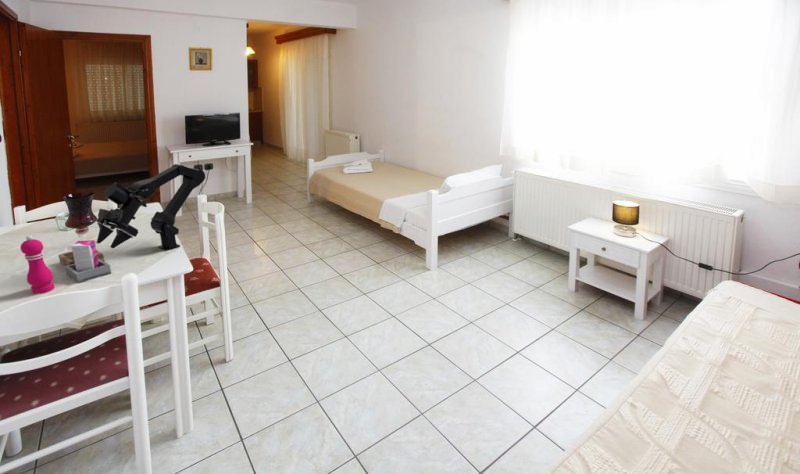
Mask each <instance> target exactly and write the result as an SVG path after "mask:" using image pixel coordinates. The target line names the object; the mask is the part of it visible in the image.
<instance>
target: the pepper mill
mask: <svg viewBox="0 0 800 474" xmlns="http://www.w3.org/2000/svg"><path fill="white" fill-rule="evenodd" d="M43 250H44V244H43V242H42V241H40V240H39V239H34V237H33V236H32V235H27V236H26V238H25V241H23V242H22V243H21V244H20V251H21V253H23V254H24V260H26V261H27V264H28V271H27V275H26V280H27V284H29V285H30V286H31V287H30V288H31V292H32V294H36V293H37V294H38V293H40V294H45V293H49V292H51V291H53V290H54V289H55V283H54V282H53V279H54V274H53V272H52V270H51V269H50V268H49V267H48V266H47V264H46V263H45V261H44V256H45V254H44V252H43ZM38 295H39V294H38Z"/></svg>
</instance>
